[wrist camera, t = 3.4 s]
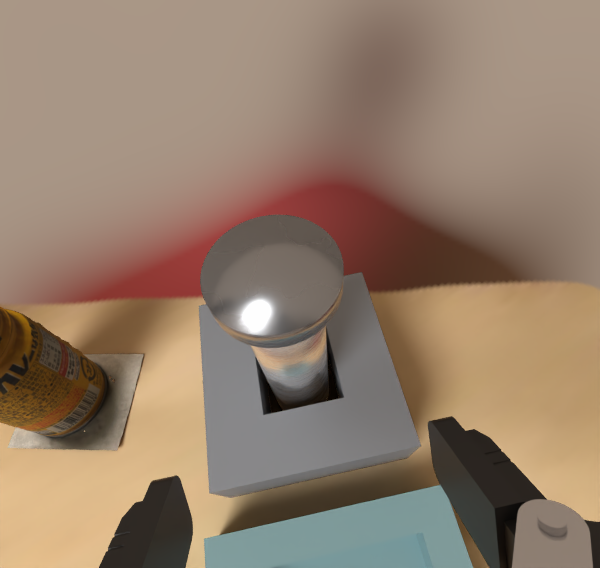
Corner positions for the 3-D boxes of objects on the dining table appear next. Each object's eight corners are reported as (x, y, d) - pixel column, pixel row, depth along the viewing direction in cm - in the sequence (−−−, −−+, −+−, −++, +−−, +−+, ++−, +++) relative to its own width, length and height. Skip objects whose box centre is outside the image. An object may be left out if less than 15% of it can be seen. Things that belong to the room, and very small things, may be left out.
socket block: (230, 497, 25) (209, 493, 21) (217, 334, 32) (198, 305, 27) (406, 458, 26) (420, 445, 21) (358, 305, 32) (361, 272, 28)
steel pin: (271, 437, 27) (204, 349, 13) (260, 362, 30) (197, 229, 16) (348, 419, 27) (360, 316, 13) (330, 347, 30) (325, 203, 16)
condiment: (47, 354, 32) (-88, 276, 22) (144, 354, 31) (52, 274, 21) (9, 448, 28) (-176, 407, 18) (119, 451, 27) (-8, 410, 17)
